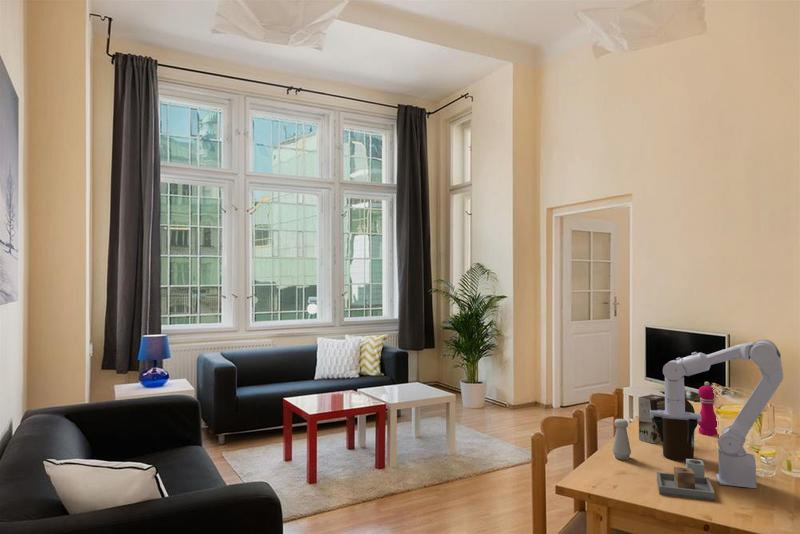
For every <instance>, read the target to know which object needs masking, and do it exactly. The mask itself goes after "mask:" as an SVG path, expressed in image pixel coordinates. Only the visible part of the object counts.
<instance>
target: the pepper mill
mask: <svg viewBox="0 0 800 534" xmlns="http://www.w3.org/2000/svg"><path fill="white" fill-rule="evenodd" d="M713 388H714V387H713V386H711V385H710V382H709V381H704V385H701V386H700V387H699V388H698V393H697V394H698V395H699V396H700V398H699V402H700V403H701V408H700V411H699V413H698V414H701V421H697V422H698V426H699V427H698V433H699V434H700V435H703V436H709V437H710V436H717V435H718V429H717V427H718V426H717V421H716V417H717V415H716V413H715V410H714V404H715V403H714V401H715V400H714V399H715V397H714V393H713V390H714V389H715V388H714V389H713ZM712 389H713V390H712Z"/></svg>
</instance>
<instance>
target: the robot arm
mask: <svg viewBox="0 0 800 534" xmlns="http://www.w3.org/2000/svg"><path fill="white" fill-rule="evenodd" d="M735 359H741V360H745V361H750V360H752V361H753V363H754V364H755V365H757V367H758V369H759V371H760V373H761V375H762V377H761V379H760V380H759V382H758V384H757V385H756V386H755V388H754V390H753V391H752V393H751V394H750V396H749V397H748V399H747V400H746V401H745V403H744V405H743V406H742V408H741V409H740V411H739V412H738V414H737V415H736V417H735V419H734V420H733V421H732V423H731V424H730V425H729V426H726V427H725V428H724V429H723V430H722V431H721V435H720V436H719V437H718V439H717V445H718V447H719V448H718V449H717V450H718V452H717V453H718V473H716V474H715V477H716V479H717V481H718V484H719V485H721V486H722V485H723V486H731V487H740V488H747V489H748V488H749V489H757V488H758V487H757V465H756V458H755V455H754V454H752V453H748V452H747V451H746V450H745V448H744V444H745V442H746V439H747V438H746V437H747V436H748V434H749V432H750V431H751V429H752V427H753V426H754V424H755V423H756V421H757V419H758V418H759V417H760V415H761V413H762V412H763V410H764V409H765V408H766V406H767V405H768V403H769V401H770V400H771V399H772V397H773V395H774V394H775V393H776V391H777V389H778V388H779V386H780V385H781V383H782V382H783V380H784V370H783V363H782V355H781V352H780V350H779V348H778V347H777V345H776V344H775V343H774V342H773V341H772V340H769V339H763V338H762V339H759V340H757V341H748V342H744V343H740V344H739V343H738V344H736V345H733V346H730V347H727V348H725V349H724V348H723V349H721V350H718V351H715V352H712V353H708V354H706V353H703V352H697V351H694V352H691V355H687V356H685V357H680V356H679V357H677V358H675V359H673V360H670V361H668V362H667V363H665V364H664V365H663V367H662V374H663V375H664V396H665V410H650V418H654V421H655V423H656V425H657V428H658V430H659V433H660V437H661V441H660V442H662V441H663V442H664V438H663V421H662V418H669V419H682V420H687V424H688V436H687V441H688V444H691V439H692V435H693V433H694V434H695V432H694V430H696V428H698V426H699V424H698V422H697V421H701V414H699V413H696V412H695V413H689V412H685V398H686V395H685V394H686V393H685V391H686V389H685V376H686V377H690V376H693V375H696V374H700V373H703V372H708V371H710V368H711V366H712V365H716V364H719V363H724V362H727V361H730V360H735ZM663 442H662V443H663Z"/></svg>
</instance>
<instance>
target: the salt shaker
mask: <svg viewBox="0 0 800 534" xmlns="http://www.w3.org/2000/svg"><path fill="white" fill-rule="evenodd" d="M613 424H614V426H615V435H614V440H613V444H612V452H613V453H612V454H613V455H614V457H615V459H618V460H622V461H624V460H628V459H629V458H630V456H631V453H632V450H631V445H630V440H629V435H628V431H627V428H628V426H629V422H628V421H627V420H626V419H624V418H616V419H615V420H614V423H613Z"/></svg>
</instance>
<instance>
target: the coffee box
mask: <svg viewBox="0 0 800 534" xmlns="http://www.w3.org/2000/svg"><path fill="white" fill-rule="evenodd" d="M664 401H665V395H658V394H648V395H642V396H638V440H639V441H643V442H646V443H650V444H656V443H660V442H662V441H661V437H660V433H659V430H658V428H657V425H656V423H655V421H654V418H650V410H660V409H661V406H662V403H663V402H664Z"/></svg>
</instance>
